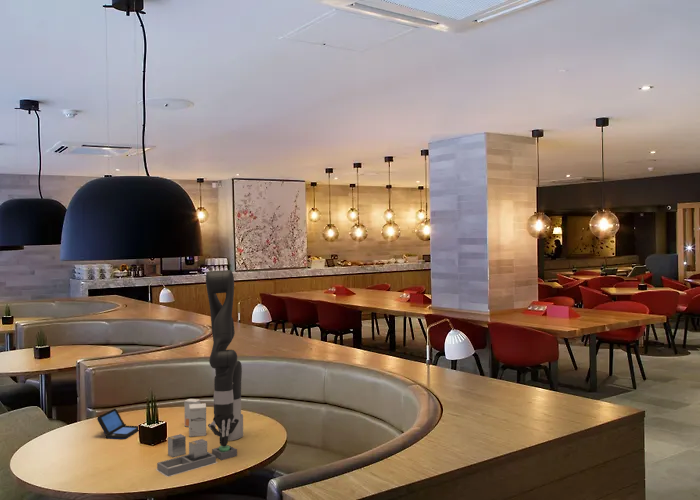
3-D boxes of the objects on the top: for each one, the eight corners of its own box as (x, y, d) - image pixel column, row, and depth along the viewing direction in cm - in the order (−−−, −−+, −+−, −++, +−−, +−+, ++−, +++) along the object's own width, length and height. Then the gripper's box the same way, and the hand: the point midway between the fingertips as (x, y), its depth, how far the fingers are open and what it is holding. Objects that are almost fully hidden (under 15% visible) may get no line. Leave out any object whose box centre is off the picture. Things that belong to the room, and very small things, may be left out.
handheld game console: (125, 440, 260) (124, 418, 260) (96, 438, 262) (95, 417, 262) (142, 429, 276) (142, 408, 275) (115, 427, 278) (115, 407, 277)
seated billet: (202, 459, 233) (202, 438, 233) (207, 462, 230) (207, 441, 230) (189, 463, 230) (188, 441, 229) (194, 466, 227) (194, 444, 226)
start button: (226, 449, 240) (226, 444, 240) (231, 451, 237) (231, 446, 237) (217, 451, 238) (217, 446, 238) (222, 454, 235) (222, 449, 235)
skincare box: (184, 426, 278) (184, 400, 278) (189, 424, 282) (189, 398, 282) (195, 428, 276) (195, 401, 276) (200, 425, 280) (200, 399, 280)
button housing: (227, 453, 243) (227, 444, 243) (237, 458, 237) (237, 449, 237) (212, 457, 238) (211, 449, 238) (221, 462, 233) (221, 453, 233)
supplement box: (189, 437, 263) (188, 408, 263) (188, 432, 270) (188, 403, 270) (206, 435, 265) (206, 407, 265) (205, 430, 272) (205, 402, 272)
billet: (180, 454, 242) (180, 433, 242) (185, 456, 239) (185, 436, 239) (167, 457, 239) (167, 436, 239) (172, 460, 236) (172, 439, 236)
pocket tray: (205, 458, 237) (205, 449, 237) (217, 465, 230) (217, 456, 230) (155, 472, 223) (155, 462, 223) (167, 479, 216) (167, 470, 216)
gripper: (233, 396, 244) (233, 439, 244) (203, 402, 235) (203, 447, 236) (243, 400, 239) (243, 444, 239) (213, 406, 230) (213, 451, 230)
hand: (223, 445), depth 237 cm, fingers closed
